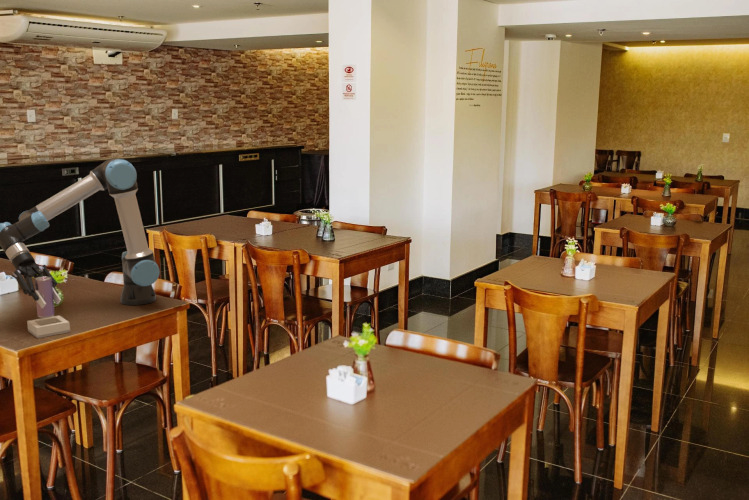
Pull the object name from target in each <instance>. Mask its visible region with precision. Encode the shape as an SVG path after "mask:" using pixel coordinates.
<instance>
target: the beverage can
mask: <svg viewBox="0 0 749 500" xmlns="http://www.w3.org/2000/svg"><path fill="white" fill-rule="evenodd" d="M34 289H35V291H36V290H37V291H38V292H39V293H40V295H41V296H42V298H43V299H44V301H45V303H46V305H45V306H44V308H41V307H40V305H39V304H38V302H37V301H36V312H37V317H38V318H39V319H42V318H49V317H53V316H55V304H54V303H55V301H54V299H53V287H52V279H51V277H38V278H34Z"/></svg>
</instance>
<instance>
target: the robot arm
mask: <svg viewBox="0 0 749 500" xmlns="http://www.w3.org/2000/svg"><path fill="white" fill-rule="evenodd" d="M137 174H138V173H137V170H136V168H135V166H133V164H132V163H131V162H129V161H128V160H126V159H122V158H116V157H114V158H112V157H111V158H109V159H107V160H106V161H104V162H103V163H100V164H99V165H98V166H96V167H95V168H94V169H92V170H90V171H89V174H88V175H86V176H85V177H83V178H81V179H80V180H78V181H76V182H75V183H73V184H71V185H70V186H68V187H66V188H64V189H63V190H60V191H59V192H58V193H56V194H54V195H52V196H51V197H50V198H47V199H46V200H44V201H41V202H40V203H39V204H37V205H36V206H34V207H32V208H30V209H29V210H25V211H23V212H22V213H20V214H19V216H18V221H17V222H14V223H13V224H11V222H8V221H5V222H0V247H1V249H2V250H3V252H4V253H5V255H6V256H7V258H8V259H9V261H10V262H11V264H12V266H13V267H14V269H15V270H14V272H12V274H11V276H12V277H13V278H14V279H15V280H16V282H17V284H18V285H19V287H20V289H21V291H22V292H23V294H24V295H28V296H30V297H31V298H32V299H33V300H34V301H37V302H38V304H39V305H40V307H41V308H44V306H45V305H46V303H45V301H44V299H43V298H42V296H41V295H40V293H39V292H38V291H37V290H35V284H34V282H33V278H34V279H35V278H38V277H51V279H52V287H53V301H54V303H55V304H56V305H59V304H60V302H61V301H62V299H61V297H60V296H59V292H58V290H57V288H56V287H57V285H58V281H56V279H55V278H54V276H53V275H52V274H51V273H50V271H49V270H48V268H47V265H46V264H42V265H38V264H37V263H36V260H35V258H34V256H33V255H32V253H31V252H30V250H29V249H28V247H27V245H26V244H25V243H24V241H26V240H28V239H29V238H32V237H33V236H35V235H37V234H39V233H41V232H44V231H45V230H46V229H48V228H49V227H50V222H49V221H50V220H52V219H54V218H55V217H56V216H58V215H60V214H62V213H63V212H65V211H67V210H69V209H71V208H72V207H74V206H75V205H77V204H79V203H80V202H82V201H84V200H86V199H88V198H89V197H91V196H93V195H94V194H95V193H97V192H99V191H106V190H108V194H109V196H111V197H112V198H113V199H114V202H115V203H114V204H115V206H116V211H117V215H118V219H119V223H120V226H121V231H122V234H123V238H124V242H125V246H126V251H123V252H122V253H121V263H122V264H121V265H122V276H123V278H122V279H123V287H122V291H121V294H120V304H122V305H127V306H138V305H147V304H150V303H154V302H155V301H156V300H157V295H156V292H155V290H154V287H153V284H154V283H155V282H157V280H158V279H159V277H160V267H159V264H157V262H156V258H155V255H154V251H153V250H152V249H151V248H149V245H148V241H147V236H146V233H145V228H144V224H143V221H142V216H141V211H140V207H139V204H138V199H137V196H136V193H137V192H138V190H139V188H138V187H139V186H138V182H137V179H138V177H137V176H138V175H137ZM37 302H36V303H37Z"/></svg>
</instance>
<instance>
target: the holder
mask: <svg viewBox="0 0 749 500" xmlns="http://www.w3.org/2000/svg"><path fill="white" fill-rule="evenodd" d="M26 322H27V331H28V333H30V334H31V335H32V336H34V337H35V338H36V339H41V338H45V337H50V336H56V335H61V334H68V333H71V326H70V325H71V323H70V321H69V320H67V319H65V318H64V317H63V316H62V315H54V316H52V317H49V318H36V319H31V320H27V321H26Z"/></svg>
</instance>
